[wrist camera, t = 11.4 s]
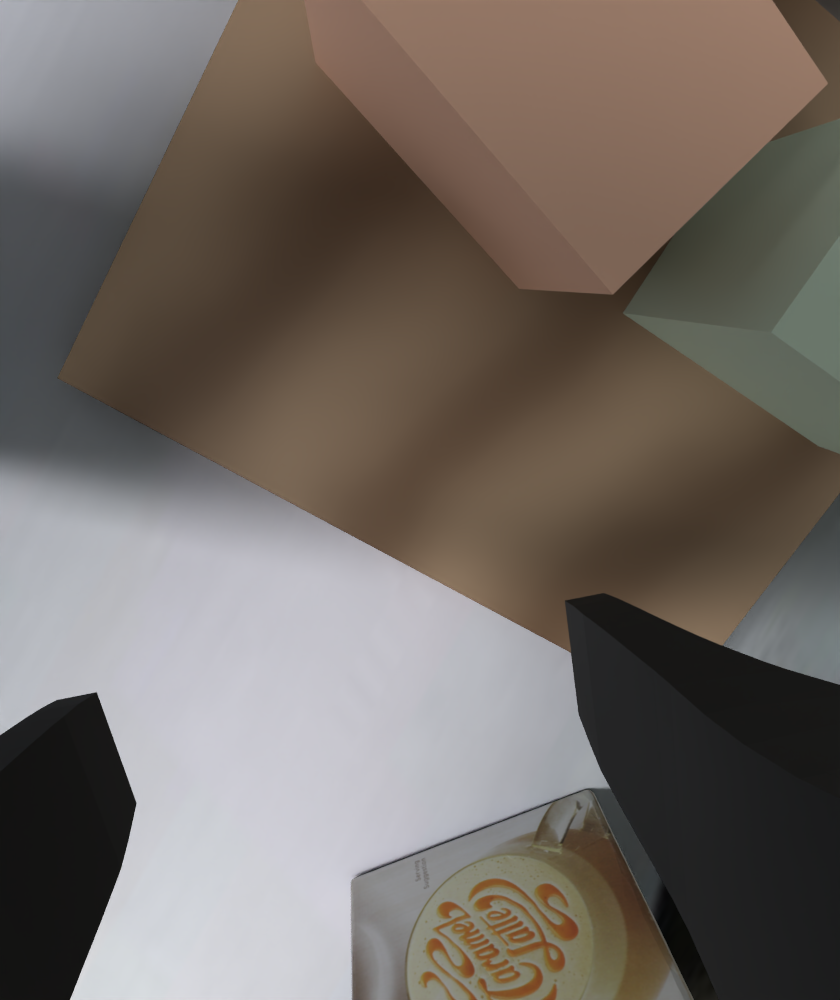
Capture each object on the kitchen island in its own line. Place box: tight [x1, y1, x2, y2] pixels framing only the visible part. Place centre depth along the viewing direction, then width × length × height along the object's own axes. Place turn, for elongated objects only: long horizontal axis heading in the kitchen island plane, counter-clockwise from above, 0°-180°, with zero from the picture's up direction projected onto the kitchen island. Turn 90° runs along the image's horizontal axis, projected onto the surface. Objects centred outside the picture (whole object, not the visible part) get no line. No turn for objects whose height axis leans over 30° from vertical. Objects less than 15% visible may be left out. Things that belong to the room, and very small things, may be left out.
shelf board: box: [58, 0, 840, 652], centre depth 18 cm, size 20×18×2 cm
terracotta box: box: [304, 0, 828, 295], centre depth 14 cm, size 5×7×7 cm
